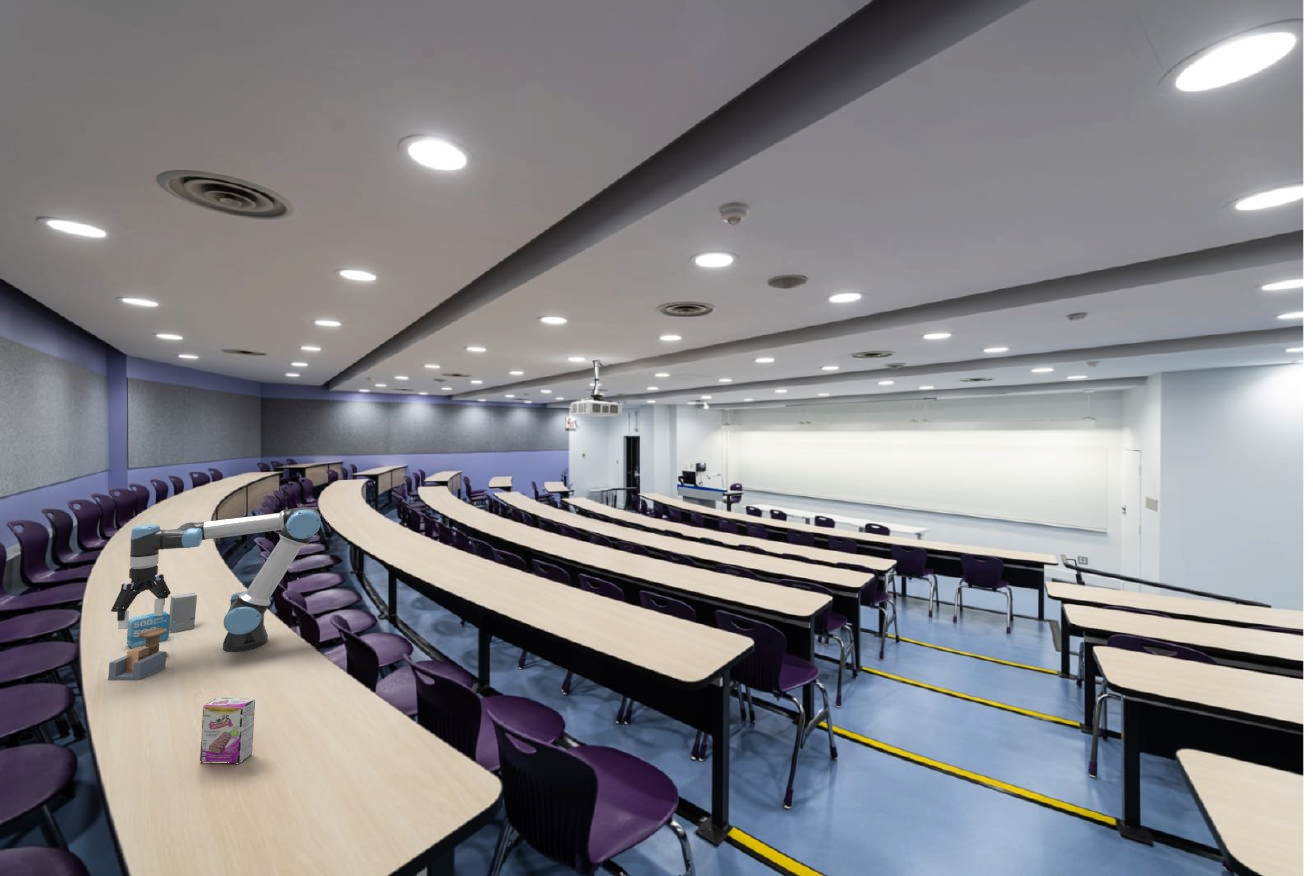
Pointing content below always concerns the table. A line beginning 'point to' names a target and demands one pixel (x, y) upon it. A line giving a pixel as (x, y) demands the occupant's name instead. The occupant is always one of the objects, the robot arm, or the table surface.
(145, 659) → the notch board
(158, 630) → the door knob
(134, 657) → the tab
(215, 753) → the candy bar box
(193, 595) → the skincare box
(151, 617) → the data package
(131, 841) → the table surface
